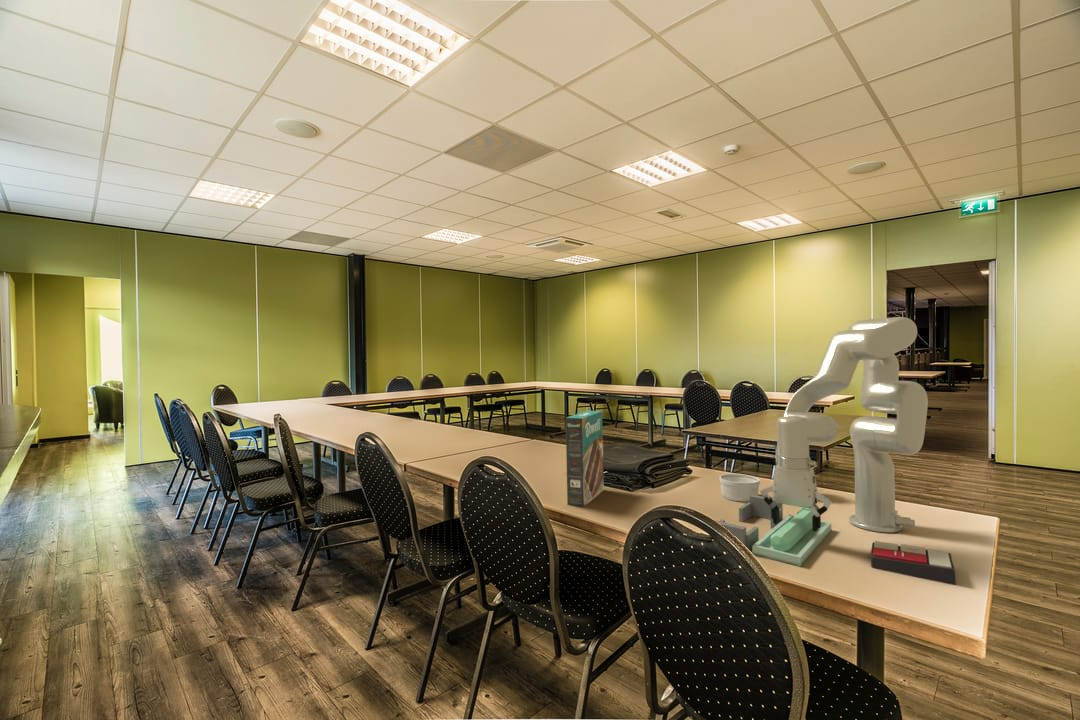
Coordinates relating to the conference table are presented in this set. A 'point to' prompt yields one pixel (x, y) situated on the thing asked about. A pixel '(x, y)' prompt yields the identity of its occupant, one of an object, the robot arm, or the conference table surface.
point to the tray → (798, 551)
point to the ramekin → (739, 486)
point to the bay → (749, 509)
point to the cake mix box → (584, 457)
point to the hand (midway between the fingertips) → (795, 526)
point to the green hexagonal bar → (792, 531)
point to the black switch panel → (913, 561)
